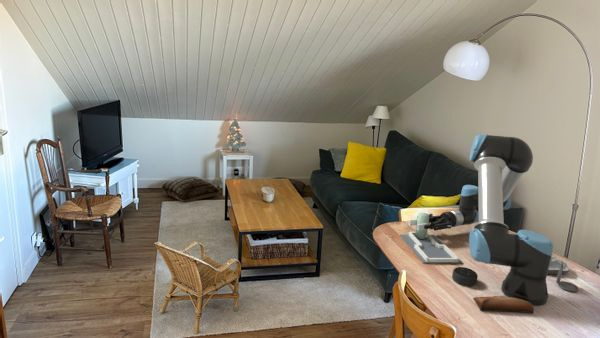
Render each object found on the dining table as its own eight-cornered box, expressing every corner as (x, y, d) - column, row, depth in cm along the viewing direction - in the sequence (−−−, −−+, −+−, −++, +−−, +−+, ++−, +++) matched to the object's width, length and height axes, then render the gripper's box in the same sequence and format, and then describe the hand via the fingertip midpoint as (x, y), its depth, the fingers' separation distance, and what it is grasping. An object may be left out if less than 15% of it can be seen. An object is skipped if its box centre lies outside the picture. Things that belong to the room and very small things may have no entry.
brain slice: (560, 262, 189) (561, 255, 188) (570, 280, 173) (572, 273, 173) (511, 253, 195) (512, 247, 194) (516, 270, 179) (518, 263, 178)
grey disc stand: (581, 293, 163) (587, 269, 161) (559, 291, 163) (564, 267, 161) (569, 282, 171) (575, 258, 169) (547, 280, 171) (553, 257, 169)
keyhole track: (462, 263, 181) (463, 259, 181) (423, 263, 179) (423, 259, 178) (433, 235, 208) (434, 231, 207) (399, 235, 206) (400, 231, 205)
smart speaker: (460, 288, 162) (462, 278, 161) (447, 276, 170) (448, 267, 169) (481, 286, 164) (483, 276, 163) (466, 274, 172) (468, 265, 171)
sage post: (428, 239, 200) (431, 216, 198) (417, 239, 200) (420, 216, 197) (423, 234, 205) (426, 212, 202) (413, 234, 205) (416, 212, 202)
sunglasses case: (521, 300, 155) (529, 290, 151) (527, 319, 150) (536, 310, 146) (470, 297, 155) (477, 288, 150) (476, 316, 150) (482, 307, 145)
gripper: (464, 233, 202) (426, 240, 192) (436, 219, 218) (399, 225, 207) (467, 218, 200) (428, 224, 190) (438, 205, 216) (401, 210, 205)
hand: (413, 225), depth 198 cm, fingers closed on sage post, 5 cm apart
